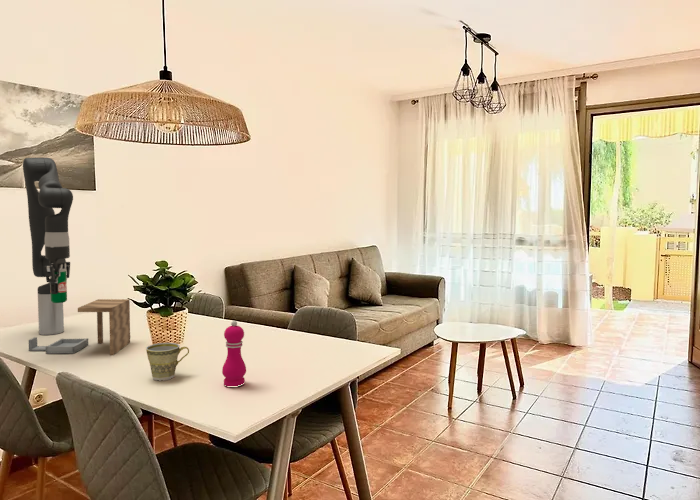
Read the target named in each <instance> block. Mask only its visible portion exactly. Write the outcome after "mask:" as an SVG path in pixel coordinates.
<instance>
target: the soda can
mask: <svg viewBox="0 0 700 500" xmlns="http://www.w3.org/2000/svg"><path fill="white" fill-rule="evenodd" d="M54 273H55V274H57V273H58V272H57V273H56V272H54ZM66 275H67V274H66V270H65V268H62V269H61V276H60V277H59V279H58V294H51V302H52V303H63V304H64V303H65V302H67V301H68V286H67V285H68V284H67V283H68V281H67V280H68V278H67V277H66ZM55 279H56V277H55ZM50 292H51V283H50Z"/></svg>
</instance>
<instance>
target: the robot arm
mask: <svg viewBox="0 0 700 500" xmlns="http://www.w3.org/2000/svg"><path fill="white" fill-rule="evenodd" d="M22 170H23V178H24V183H25V189H26V195H27V196H26V197H27V208H28V210H27V211H28V222H29V223H28V224H29V231H30V240H31V258H32V259H31V264H32V266H31V267H32V271H33V272H32V273H33V275H34V276H35V277H36V278H45V281H46V283H45V284H42V285H41V284H40V285H39V286H38V287H37V312H38V313H37V317H38V319H37V320H38V334H39V335H42V336H43V335H44V336H50V335H58V334H62V333H63V332H64V331H65V326H64V325H65V322H64V315H65V314H64V302H63V303H52V302H51V294H58V279H59V277H60V276H61V269H62V268H65V270H66V277H67V279H69V278H70V275H71V274H70V273H71V261H67V260H66V259H69V258H70V257H71V254H70V236H69V217H70V211H71V208H72V204H73V202H74V201H73V200H74V194H73V192H72V191H71V190H70V189H69V188H67V187H65V188H64V187H63V186H62V183H61V182H60V179H59V173H58V167H57V164H56V162H55V160H54V159H52V158H51V157H25V158H24V159H23V161H22ZM35 182H37V184H38V188H37V186H36V185H35ZM38 189H39V190H38ZM55 209H60V211H59V212H58V213H56V211H55ZM43 248H44V255H43V254H42V250H43ZM54 272H56V273H57V272H58V273H57V274H55V273H54ZM55 277H56V279H55ZM50 283H51V292H50Z"/></svg>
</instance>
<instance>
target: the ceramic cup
mask: <svg viewBox="0 0 700 500" xmlns="http://www.w3.org/2000/svg"><path fill="white" fill-rule="evenodd" d="M184 349H187V353H186V354H185V355H183V356H182V357H181V358H180V359H179V360H178V356H179V354H180V353H181V352H182V351H183V350H184ZM145 350H146V355H147V360H148V362H149V366H150V373H151V377H152V380H153V381H157V380H159V381H158V382H162V381H161V380H163V381H169V380H172V379H174V378H175V374H176V369H177V366H178V365H179V363H180V362H182V360H183V359H185V357H187V356H188V355H189V354H190V349H189V347H187V346H182V347H180V344H178V343H175V342H159V343H153V344H151V345H148V346H146V347H145ZM173 377H174V378H173ZM171 378H172V379H171Z"/></svg>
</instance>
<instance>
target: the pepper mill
mask: <svg viewBox="0 0 700 500" xmlns="http://www.w3.org/2000/svg"><path fill="white" fill-rule="evenodd" d="M223 335H224V339H225V347H226V348H227V349H226V350H227V353H226V354H227V355H226V359H225V361H224V363H223V366H222V371H221V372H222V375H223V377H224V379H223V386H224V385H226V386H238V385H241V384H243V383H244V382H245V381H246V379H245V377H244V376H245V374H246V373H247V366H246V363H245V361H244V359H243V356H242V347H243V341H242V340H243V338H244V337H245V331H244V328H243V327H241V326H240V325H238V322H237V320H232V321H231V323H230V326H227V327H226V329H225V330H224V333H223Z"/></svg>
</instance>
